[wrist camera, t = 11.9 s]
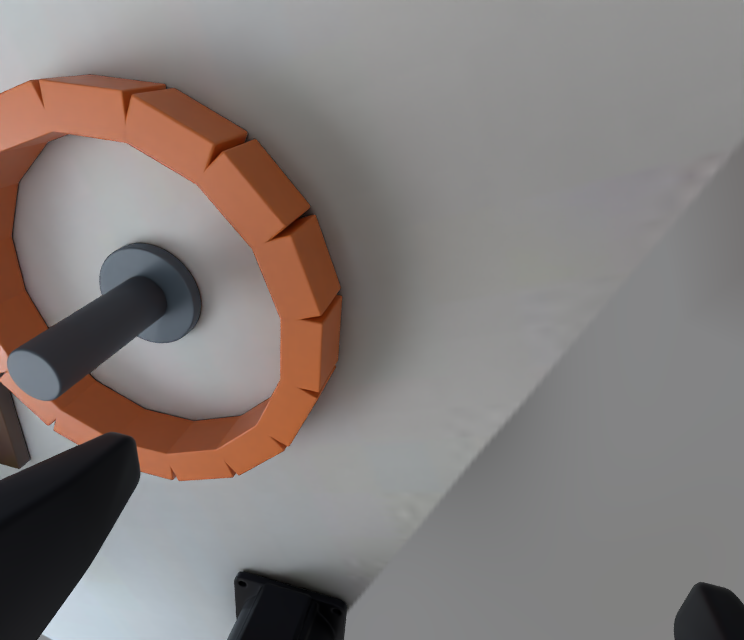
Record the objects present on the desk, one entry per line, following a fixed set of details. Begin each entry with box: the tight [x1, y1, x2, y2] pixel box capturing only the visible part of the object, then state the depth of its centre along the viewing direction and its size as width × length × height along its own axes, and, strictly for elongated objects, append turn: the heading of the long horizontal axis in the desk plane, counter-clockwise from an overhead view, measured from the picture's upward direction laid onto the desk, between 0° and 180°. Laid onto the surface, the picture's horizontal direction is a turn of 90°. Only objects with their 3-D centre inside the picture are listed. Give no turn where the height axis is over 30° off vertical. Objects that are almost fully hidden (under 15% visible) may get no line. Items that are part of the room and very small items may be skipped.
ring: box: [0, 74, 342, 481], centre depth 22 cm, size 17×17×2 cm
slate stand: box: [7, 243, 201, 401], centre depth 20 cm, size 4×4×7 cm
